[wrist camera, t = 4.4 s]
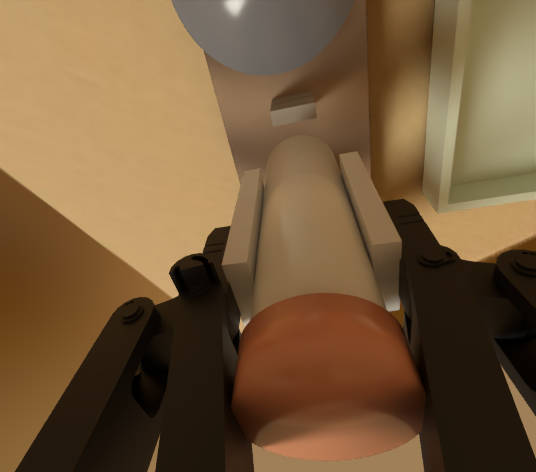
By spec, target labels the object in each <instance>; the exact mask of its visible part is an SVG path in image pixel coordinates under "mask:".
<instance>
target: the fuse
mask: <svg viewBox="0 0 536 472" xmlns="http://www.w3.org/2000/svg"><path fill="white" fill-rule="evenodd" d="M172 3H173V5H174V8H175V10H176V12H177V14H178V16H179V18H180V20H181V22H182V23H183V25H184V26H185V28H186V30H187V31H188V33H189V34H190V35H191V37H192V38H193V39H194V40H195V42H196V43H197V44H198V45H199V46H200V47H201V48H202V49H203V50H204V51H205V52H206V53H207V54H209V55H210V56H211V57H212V58H213V59H215V60H216V61H218V62H220V63H221V64H223V65H224V66H226V67H229V68H231V69H233V70H235V71H238V72H242V73H245V74H251V75H258V76H269V75H276V74H281V73H285V72H288V71H291V70H294V69H296V68H298V67H300V66H302V65H304V64H305V63H307V62H309V61H310V60H312V59H313V58H314V57H315V56H317V55H318V54H319V53H320V52H322V51H323V50H324V49H325V47H326V46H327V45H328V44H329V43H330V42H331V41H332V40H333V38H334V37H335V36H336V34H337V33H338V32H339V30H340V29H341V27H342V25H343V24H344V22H345V20H346V19H347V17H348V14H349V12H350V10H351V8H352V6H353V3H354V0H172Z"/></svg>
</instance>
